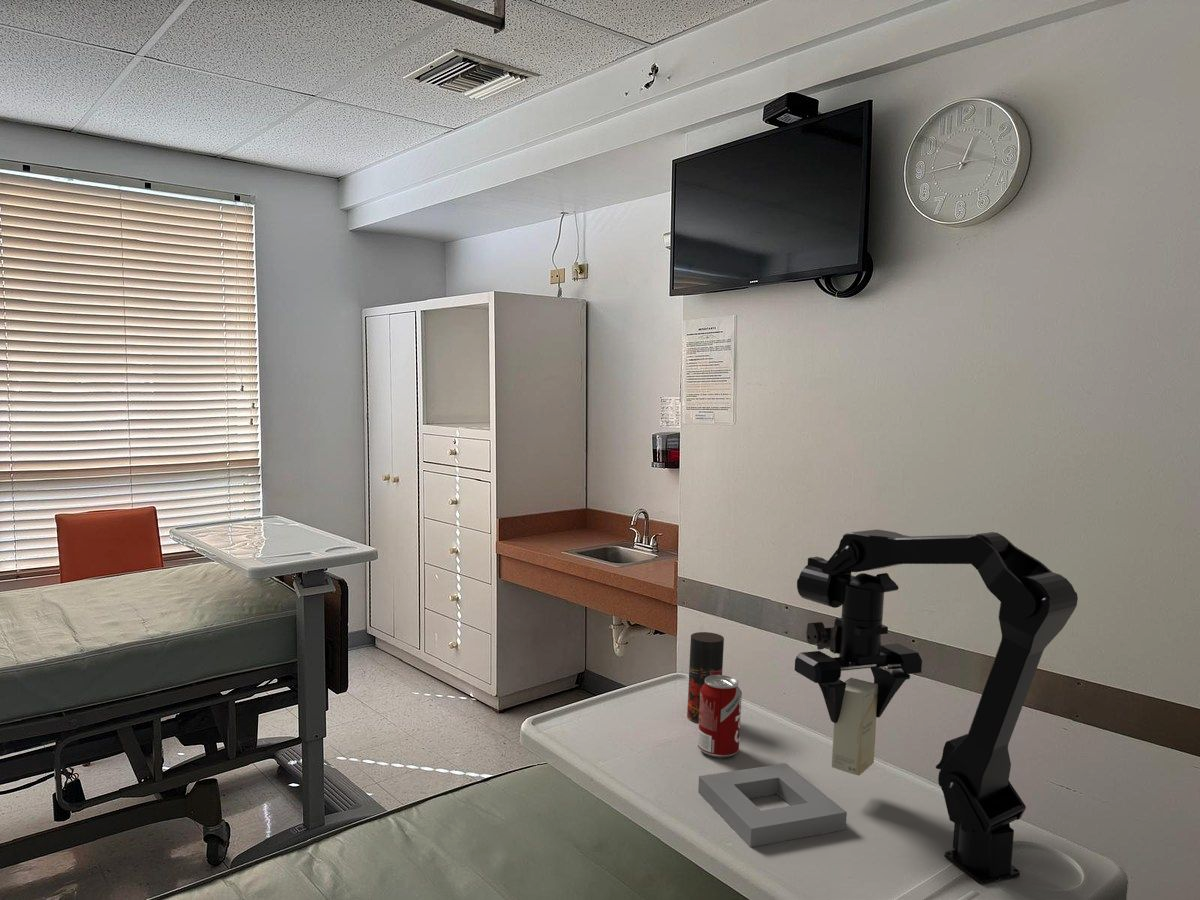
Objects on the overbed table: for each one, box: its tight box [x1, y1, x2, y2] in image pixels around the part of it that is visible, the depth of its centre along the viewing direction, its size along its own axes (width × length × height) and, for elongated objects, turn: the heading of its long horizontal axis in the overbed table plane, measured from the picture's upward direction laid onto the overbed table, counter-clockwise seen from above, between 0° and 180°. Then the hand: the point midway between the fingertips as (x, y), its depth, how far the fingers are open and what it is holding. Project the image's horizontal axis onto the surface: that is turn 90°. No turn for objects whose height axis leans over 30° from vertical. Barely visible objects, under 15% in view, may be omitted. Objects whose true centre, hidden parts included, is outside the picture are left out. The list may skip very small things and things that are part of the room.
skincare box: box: [831, 677, 878, 776], centre depth 121 cm, size 6×4×12 cm
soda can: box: [697, 674, 743, 759], centre depth 135 cm, size 7×7×12 cm
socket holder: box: [697, 763, 848, 848], centre depth 117 cm, size 15×15×2 cm
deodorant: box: [686, 631, 725, 725], centre depth 149 cm, size 6×6×15 cm
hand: (855, 719), depth 121 cm, fingers closed on skincare box, 7 cm apart
